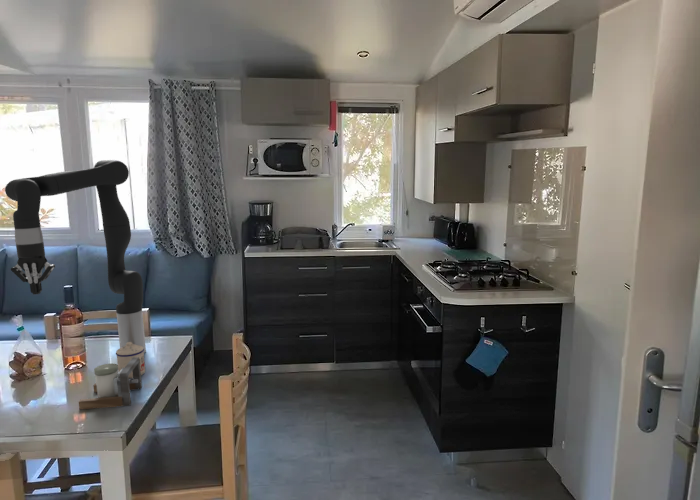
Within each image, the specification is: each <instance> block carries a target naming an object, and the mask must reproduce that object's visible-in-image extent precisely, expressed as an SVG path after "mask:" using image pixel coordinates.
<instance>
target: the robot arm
mask: <svg viewBox="0 0 700 500" xmlns="http://www.w3.org/2000/svg"><path fill="white" fill-rule="evenodd" d="M129 175H130V172H129V168H128V166H127V165H126V164H125V162H122V160H121V161H120V160H117V159H103V160H99V161H97V162H95V164H94V166H93V167H91V168H87V169H86V168H85V169H78V170H67V171H66V170H65V171H58V172H54V173H48V174H44V175H40V176H33V177H25V178H24V177H23V178H16V179H13V180H11V181H9V182H8V183H7V184H5V187H4V193H5V195H6V197H8V199H10V200H12V201H15V202H17V205H16V208H17V209H16V210H15V211H14V212H13V213H12V218H13V219H12V220H13V227H14V242H15V247H16V253H17V259H18V260H17V261H16V265H14V266H13V267H11V268H10V271H12V273H13V274H14V275H15V276H17V278H18V279H19V280H20V281H22V282H23V283H28V284H29V289H30V293H31V294H32V296H33V295H34V296H35V295H40V294H42V293H41V292H42V291H43V288H42V282H43V281H45V280H47V279H48V277H49V276H50V275H51V274H52V272H53V270H54V269H55V268H56V266H55V264H53V263H52V264H51V263H49V262H48V260H47V258H46V251H45V244H44V236H43V231H42V228H41V219H40V215H39V214H40V209H41V200H42V199H41V198H42V197H51V196H57V195H62V194H66V193H70V192H74V191H79V190H82V189H87V188H90V187H91V188H93V187H95V188H96V192H97V195H98V201H99V207H100V212H101V219H102V220H101V221H102V229H103V233H104V234H103V236H104V241H105V249H106V257H107V258H106V259H107V260H106V261H107V282H108V286H109V289H110V290H111V292H113V294H116V295H117V294H119V295H123V302H120V303H118V304H116V306H115V312H116V320H117V321H116V322H117V331H118V341H119V349H120V348H122V347H124V346H125V345H126V343H127V342H132V344H135V345H140V346H142V347H143V348H144V354H145V353H146V351H147V349H146V347H147V346H146V339H145V338H146V337H145V326H144V315H143V305H144V304H143V303H144V285H143V278H142V276H141V274H140V273H139V272H138V271H134V270H126V265H125V254H126V252H127V250H128V247H129V244H130V242H131V240H132V239H131V238H132V232H131V231H132V230H131V224H130V223H131V221H130V218H129V215H128V214H127V211H126V210H125V208H124V206H123V204H122V203H121V201H120V198H119V195H118V188H117V186H119V185H122V184H124V183H125V182H126V181H127V180H128V178H129ZM44 269H45V270H44ZM43 270H44V272H42V271H43Z"/></svg>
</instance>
